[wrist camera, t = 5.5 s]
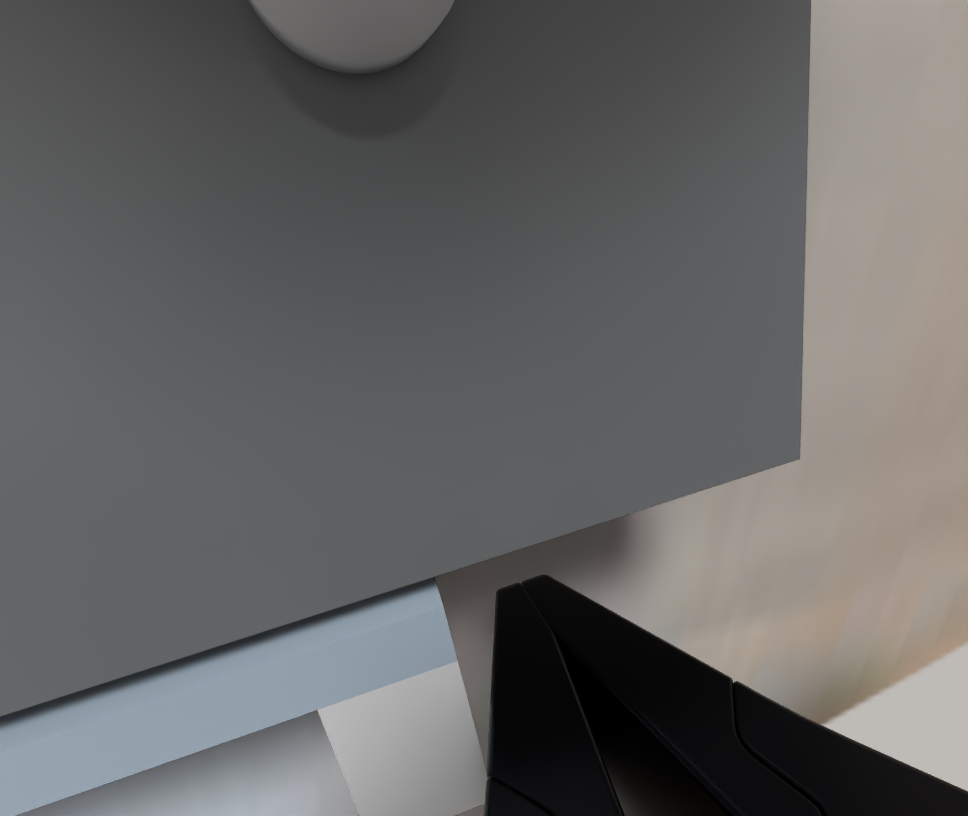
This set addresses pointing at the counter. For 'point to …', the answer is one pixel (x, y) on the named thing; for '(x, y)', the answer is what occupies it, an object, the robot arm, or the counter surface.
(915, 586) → the counter surface
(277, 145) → the sliding door box
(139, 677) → the side door
